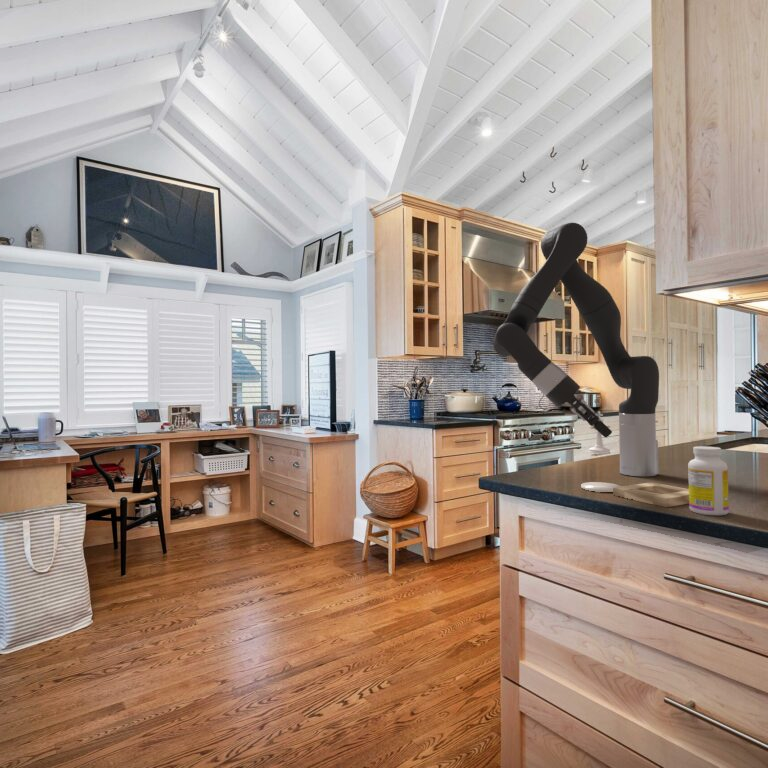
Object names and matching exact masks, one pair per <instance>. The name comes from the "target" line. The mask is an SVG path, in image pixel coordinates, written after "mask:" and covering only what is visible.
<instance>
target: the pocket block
mask: <svg viewBox="0 0 768 768" xmlns="http://www.w3.org/2000/svg"><path fill="white" fill-rule="evenodd" d="M620 486H621V485H620ZM612 495H615V496H614V497H618V496H620V497H619V498H622V497H624V498H623V499H627V498H628V500H631V499H633V500H632V501H636V502H640V503H645V504H649V505H654V506H659V507H663V508H670V507H677V506H682V505H688V504H689V488H684V487H679V486H674V485H668V484H662V483H657V482H653V481H650V482H643V483H638V484H636V483H635V484H630V485H623V486H621V487H614V488H613V493H612Z"/></svg>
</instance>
